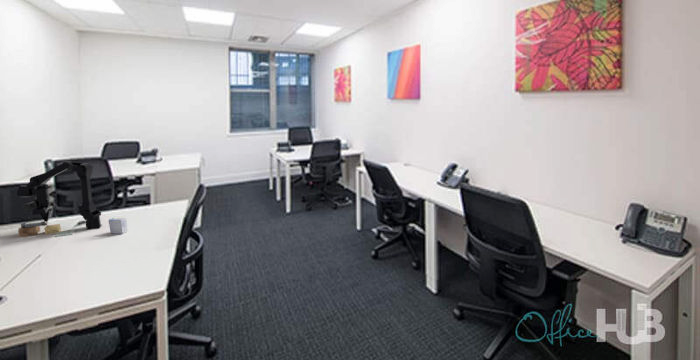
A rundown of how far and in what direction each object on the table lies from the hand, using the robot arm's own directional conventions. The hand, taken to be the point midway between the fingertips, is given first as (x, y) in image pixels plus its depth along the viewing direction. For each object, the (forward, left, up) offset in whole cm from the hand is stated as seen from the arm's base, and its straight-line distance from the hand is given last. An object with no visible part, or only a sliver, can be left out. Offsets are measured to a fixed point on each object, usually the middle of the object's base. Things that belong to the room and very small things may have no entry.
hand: (46, 221), depth 201 cm
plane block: (+7, +4, -5) cm, 10 cm away
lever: (+4, +6, 0) cm, 7 cm away
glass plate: (-11, +12, -5) cm, 17 cm away
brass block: (-4, +5, -5) cm, 9 cm away
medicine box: (-39, +22, -6) cm, 45 cm away
